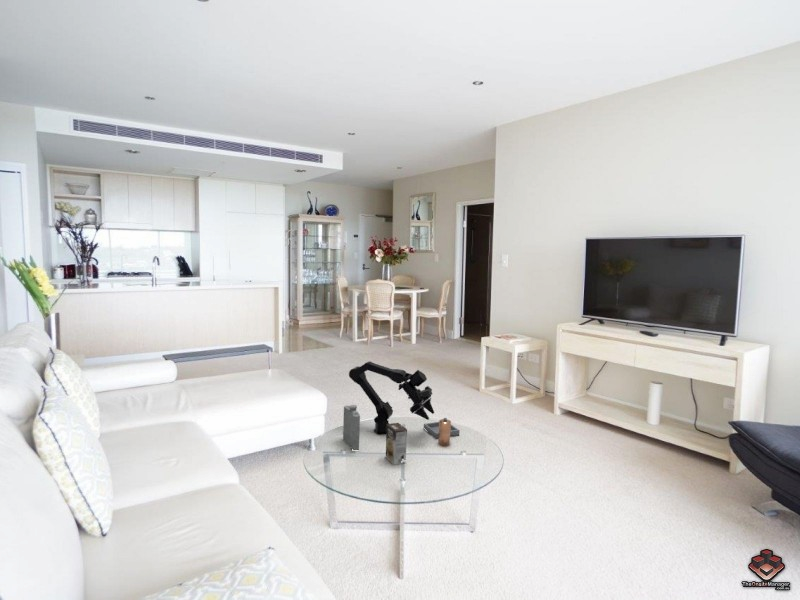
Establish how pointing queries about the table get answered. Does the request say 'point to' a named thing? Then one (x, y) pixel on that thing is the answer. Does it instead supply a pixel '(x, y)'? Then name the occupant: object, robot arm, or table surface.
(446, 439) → the copper bottle
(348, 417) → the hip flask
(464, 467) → the table surface
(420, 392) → the robot arm
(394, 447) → the coffee box
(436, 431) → the fill tray
